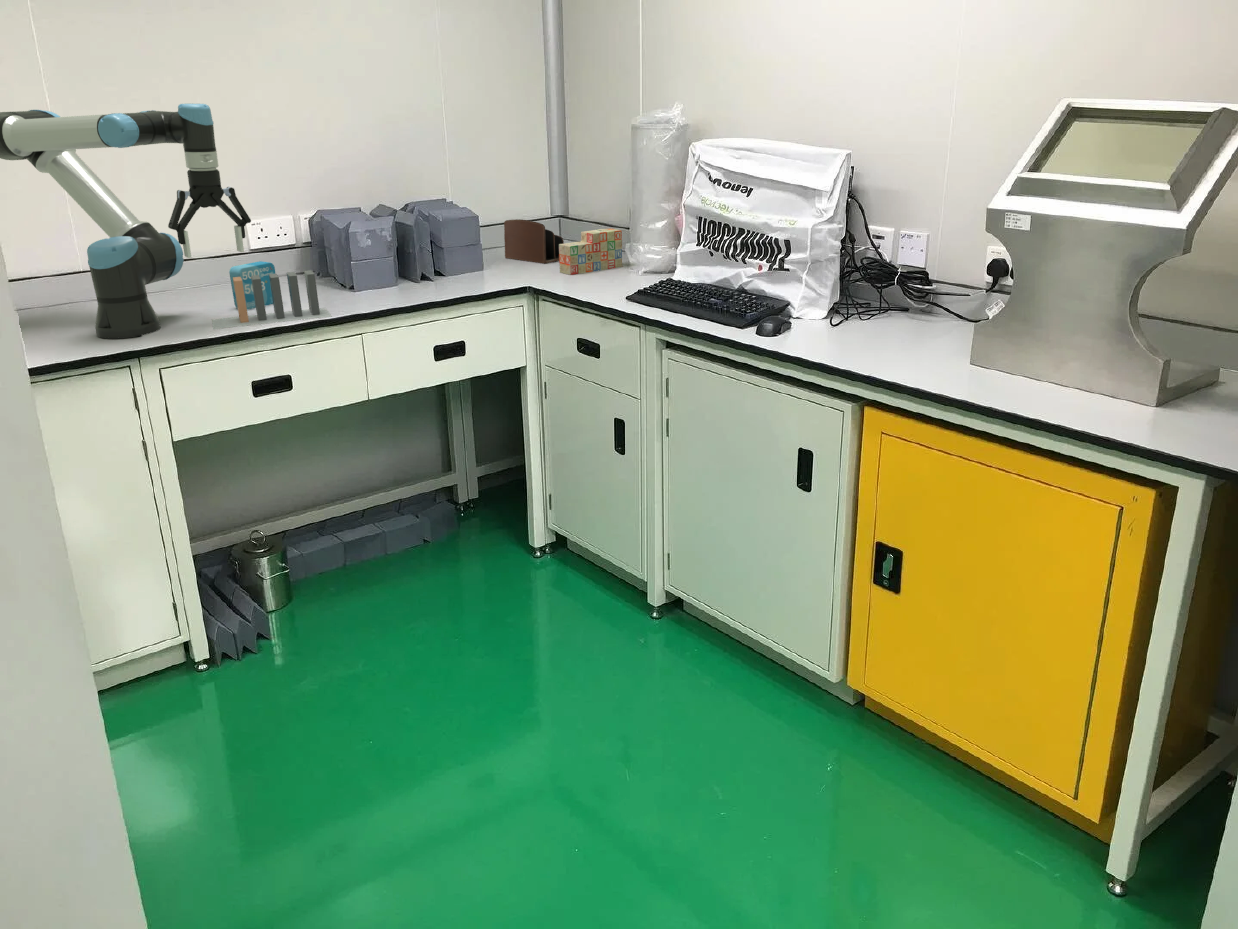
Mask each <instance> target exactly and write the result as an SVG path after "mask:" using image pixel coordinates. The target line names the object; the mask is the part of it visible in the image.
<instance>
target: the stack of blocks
mask: <svg viewBox="0 0 1238 929" xmlns="http://www.w3.org/2000/svg"><path fill="white" fill-rule="evenodd" d="M622 232H623V230H622V229H617V228H611V227H610V228H599V229H597V228H596V229H593V230H586V231H581V232H580V241H572V242H564V244H559V261H558V263H559V273H561V274H565V275H570V276H573V275H579V274H586V273H593V272H598V270H599V271H605V270H610V269H616V268H623V239H622V236H623V233H622Z"/></svg>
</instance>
